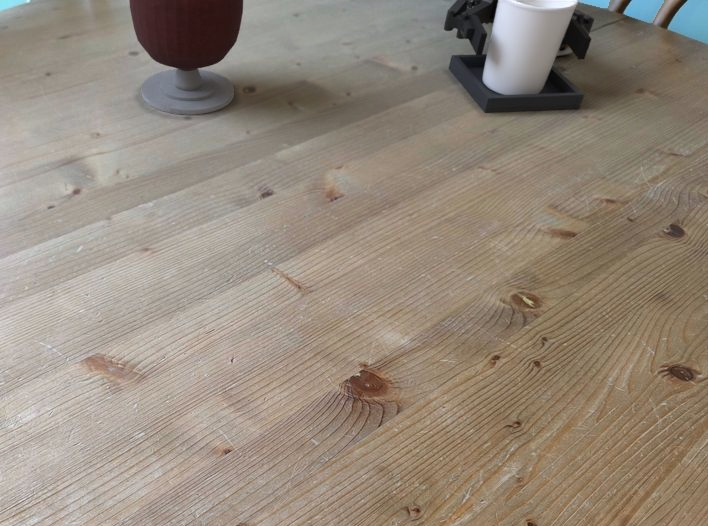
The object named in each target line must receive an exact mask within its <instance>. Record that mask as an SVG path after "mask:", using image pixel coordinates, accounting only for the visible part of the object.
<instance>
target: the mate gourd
mask: <svg viewBox="0 0 708 526" xmlns="http://www.w3.org/2000/svg"><path fill="white" fill-rule="evenodd" d="M128 2H129V11H130V15H131V20H132V25H133V29H134V32H135V36H136V40H137V41H138V43H139V44H140V46H142V48H143V50H145V52H146V53H147V54H148V56H149V57H150V58H151V59H152V60H153V61H155V62H156V63H158V64H160V65H163V66H165V67H170V68H174V69H167V70H162V71H159V72H157V73H154V74H153V75H149V77H147V78H146V79H145V80H143V83H141V86H140V89H141V90H140V92H141V93H140V94H141V97H142V99H143V101H144V102H145V103H146V104H147V105H149V106H150V107H152V108H153V109H156V110H159V111H162V112H165V113H169V114H175V115H187V116H189V115H191V116H193V115H203V114H204V115H205V114H209V113H213V112H216V111H219V110H222V109H223V108H225V107H226V106H228V105H229V104H230V103H231V102H232V101H233V99H234V96H235V95H234V94H235V88H234V85H233V83H232V82H231V80H229V79H228V78H226V77H225V76H223V75H221V74H219V73H216V72H213V71H211V70H207V69H202V68H207V67H210V66H214V65H216V64H218V63H220V62H221V61H223V60H224V59H225V57H226V56H227V55H228V54H229V52H230V51H231V50H232V48H233V47H234V46H235V45H236V43H237V41H238V37H239V34H240V31H241V24H242V19H243V13H244V0H129V1H128Z"/></svg>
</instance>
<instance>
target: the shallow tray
mask: <svg viewBox="0 0 708 526" xmlns="http://www.w3.org/2000/svg"><path fill="white" fill-rule="evenodd" d="M486 56H487V53H482V55H476V54H451V56H450V61H449V64H448V70H449V71H450V73H451V74H452V75H453V76H454V78H456V80H457V81H458V82H459V84H461V86H462V87H463V89H464V90H465V91H466V92H467V94H469V96H470V97H471V98H472V99H473V100H474V102H475V103H476V104H477V105H478V107H479V108H480V109H481V110H482V112H483V113H504V112H505V113H507V112H508V113H509V112H534V111H556V110H559V111H560V110H579V109H580V108H581V105H582V102H583V99H584V97H585V94H584V93H583V91H581V90H580V89H579V88H578V87H577V86H576V85H574V83H572V81H570V80H569V79H568V78H567V77H566V75H564V74H563V73H562V72H561V71H559V69H558V68H556V67H555V65H554V64H553V65H552V68H551V70H550V73H549V75H548V78H547V80H546V83H545V85H544V87H543V89H542V91H541V92H540V93H539V94H520V95H503V94H499V93H497V92H494V91H492V90H491V89H489V88H488V87H486V86H485V84H484V83H483V80H482V77H483V71H484V66H485V61H486Z"/></svg>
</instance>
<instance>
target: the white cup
mask: <svg viewBox="0 0 708 526" xmlns="http://www.w3.org/2000/svg"><path fill="white" fill-rule="evenodd" d="M578 5H579V0H498V4H497V9H496V13H495V18H494V23H492V28H491V33H490V38H489V41H488V45H487V46H488V47H487V51H486V54H487V56H486V61H485V66H484V71H483V77H482V80H483V83H484V84H485V86H486V87H488V88H489V89H491V90H492V91H494V92H497V93H499V94H503V95H520V94H539V93H540V92H541V91H542V89H543V87H544V85H545V83H546V80H547V78H548V75H549V73H550V70H551V68H552V65H553V66H554V62H555V61H556V58H557V56H556V55H557V53H558V50H559V48H560V45H561V43H562V40H563V38H564V35H565V33H566V30H567V28H568V25H569V23H570V20H571V18H572V15H573V13H574V10H575V9H577V6H578Z"/></svg>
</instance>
